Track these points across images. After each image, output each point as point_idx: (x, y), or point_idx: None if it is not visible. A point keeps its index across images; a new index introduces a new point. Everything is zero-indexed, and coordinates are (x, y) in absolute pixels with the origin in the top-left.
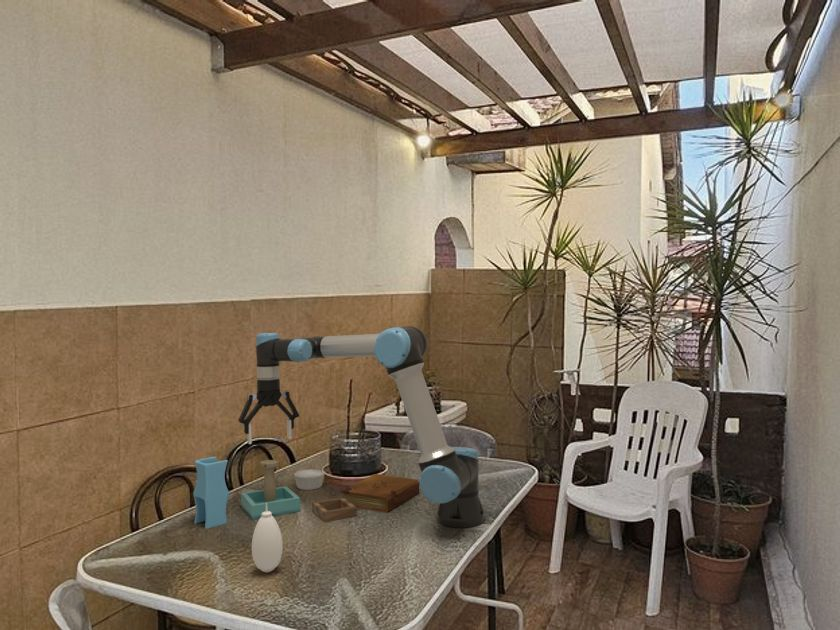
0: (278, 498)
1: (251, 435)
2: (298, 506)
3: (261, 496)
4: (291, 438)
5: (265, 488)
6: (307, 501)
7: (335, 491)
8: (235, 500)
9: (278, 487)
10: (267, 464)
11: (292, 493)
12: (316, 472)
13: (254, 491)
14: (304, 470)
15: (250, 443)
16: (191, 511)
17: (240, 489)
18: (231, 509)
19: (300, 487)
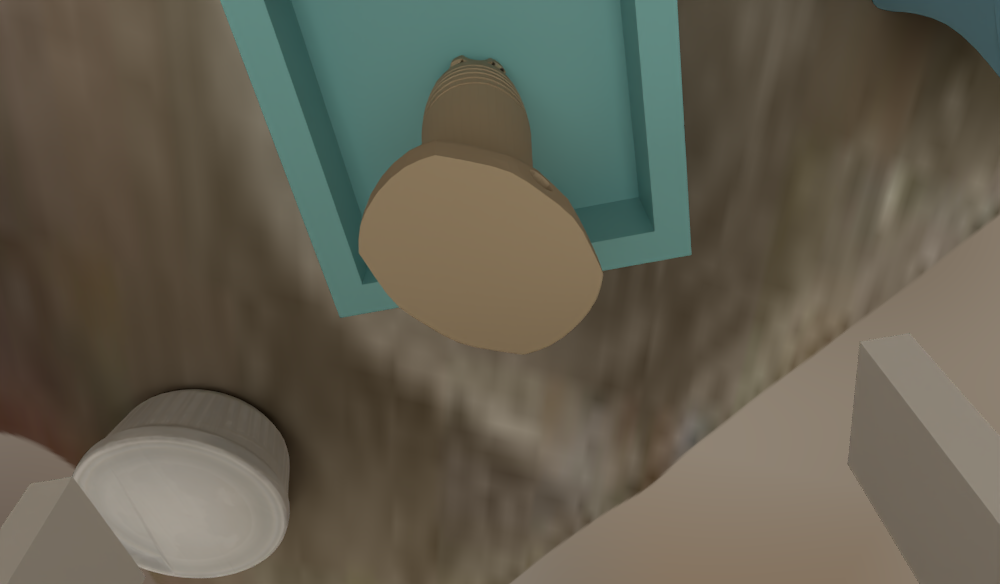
0: None
1: (966, 482)
2: None
3: None
4: (25, 491)
5: (520, 110)
6: (195, 163)
7: (9, 315)
8: (682, 328)
9: None
10: (511, 170)
11: (281, 112)
12: (138, 537)
13: None
14: (220, 568)
15: (893, 343)
16: (990, 203)
17: (622, 496)
18: (742, 159)
19: (260, 415)
